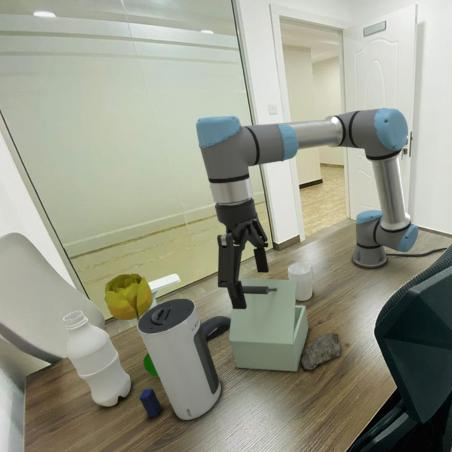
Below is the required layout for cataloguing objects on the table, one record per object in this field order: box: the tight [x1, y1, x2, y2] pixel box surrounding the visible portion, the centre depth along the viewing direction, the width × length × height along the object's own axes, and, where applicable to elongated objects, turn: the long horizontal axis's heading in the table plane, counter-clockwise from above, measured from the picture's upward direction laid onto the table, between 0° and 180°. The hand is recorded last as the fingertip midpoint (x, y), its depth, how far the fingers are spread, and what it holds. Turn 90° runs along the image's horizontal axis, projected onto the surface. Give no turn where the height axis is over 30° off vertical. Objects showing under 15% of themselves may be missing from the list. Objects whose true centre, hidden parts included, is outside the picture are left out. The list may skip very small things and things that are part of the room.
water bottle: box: [62, 310, 132, 407], centre depth 59 cm, size 7×7×25 cm
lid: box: [228, 278, 297, 344], centre depth 63 cm, size 15×17×9 cm
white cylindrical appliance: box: [136, 297, 222, 421], centre depth 57 cm, size 11×10×26 cm
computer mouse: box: [201, 315, 231, 342], centre depth 78 cm, size 12×17×4 cm
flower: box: [104, 273, 159, 377], centre depth 63 cm, size 9×8×30 cm
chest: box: [229, 304, 309, 372], centre depth 74 cm, size 15×17×9 cm
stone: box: [300, 332, 342, 371], centre depth 72 cm, size 14×8×3 cm, turn 116°
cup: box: [287, 261, 314, 302], centre depth 95 cm, size 9×9×12 cm
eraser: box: [139, 388, 162, 418], centre depth 58 cm, size 2×2×7 cm
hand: (252, 288), depth 60 cm, fingers open, 13 cm apart
